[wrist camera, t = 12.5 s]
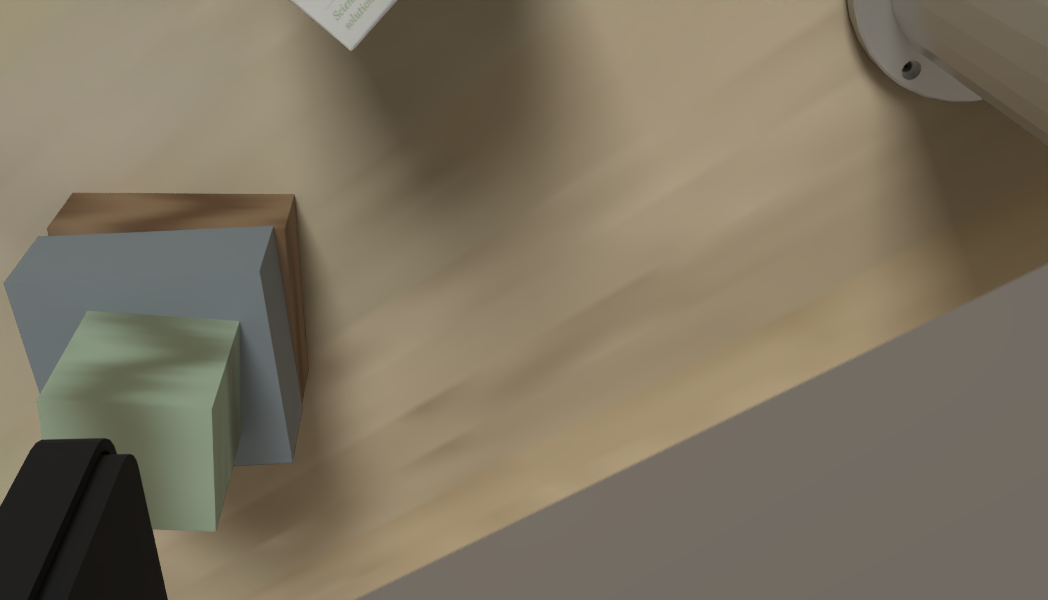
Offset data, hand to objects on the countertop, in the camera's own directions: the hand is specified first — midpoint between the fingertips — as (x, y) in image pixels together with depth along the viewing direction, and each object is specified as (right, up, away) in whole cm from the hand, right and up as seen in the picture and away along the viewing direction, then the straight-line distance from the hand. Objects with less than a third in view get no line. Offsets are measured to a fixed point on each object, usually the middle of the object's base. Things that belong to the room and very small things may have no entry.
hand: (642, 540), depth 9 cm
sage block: (-16, -1, +33) cm, 37 cm away
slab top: (-17, +1, +36) cm, 40 cm away
